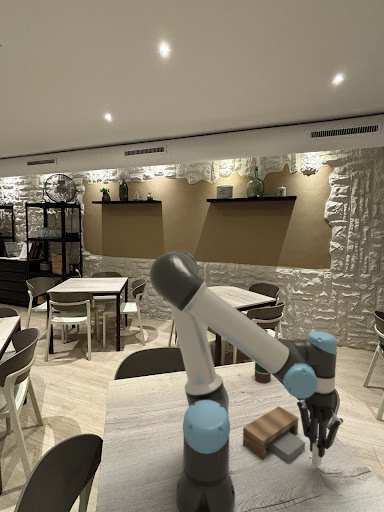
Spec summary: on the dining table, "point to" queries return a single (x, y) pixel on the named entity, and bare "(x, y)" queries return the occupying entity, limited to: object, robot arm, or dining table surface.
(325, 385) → the robot arm
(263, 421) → the walnut arch bridge
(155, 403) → the dining table surface
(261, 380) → the beer bottle
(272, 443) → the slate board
